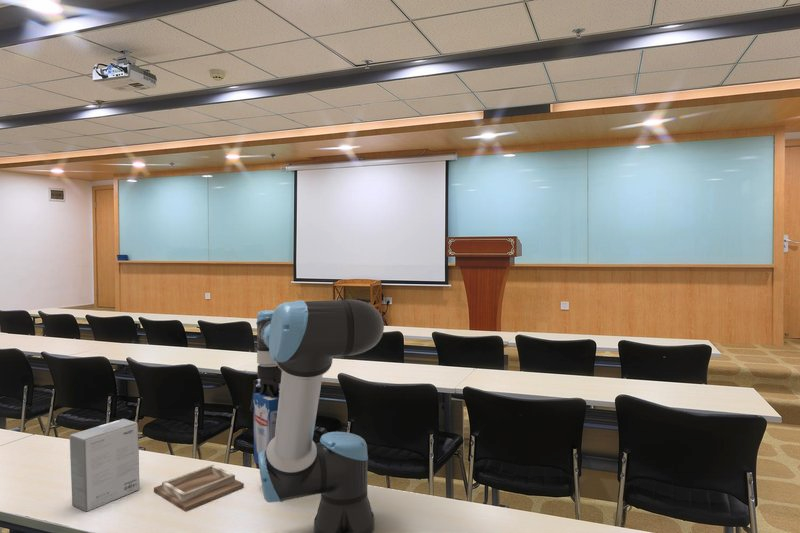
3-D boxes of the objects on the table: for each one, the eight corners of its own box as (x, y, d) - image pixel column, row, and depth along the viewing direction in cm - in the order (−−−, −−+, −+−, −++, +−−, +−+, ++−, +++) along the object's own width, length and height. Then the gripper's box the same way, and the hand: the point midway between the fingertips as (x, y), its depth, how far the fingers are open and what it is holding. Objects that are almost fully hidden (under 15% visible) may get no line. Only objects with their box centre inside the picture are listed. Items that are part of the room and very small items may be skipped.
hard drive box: (125, 483, 152) (124, 418, 152) (140, 489, 148) (139, 422, 148) (70, 505, 139) (68, 433, 138) (85, 513, 135) (84, 438, 135)
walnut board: (243, 487, 150) (243, 476, 150) (185, 511, 136) (185, 499, 136) (210, 471, 161) (210, 461, 161) (153, 491, 147) (153, 480, 147)
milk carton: (289, 465, 145) (289, 396, 145) (269, 471, 141) (269, 400, 141) (273, 456, 153) (272, 389, 153) (253, 461, 149) (253, 393, 149)
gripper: (306, 366, 143) (307, 445, 143) (258, 357, 157) (259, 429, 157) (285, 371, 137) (285, 453, 137) (236, 361, 151) (237, 435, 151)
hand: (271, 440), depth 147 cm, fingers closed on milk carton, 10 cm apart
